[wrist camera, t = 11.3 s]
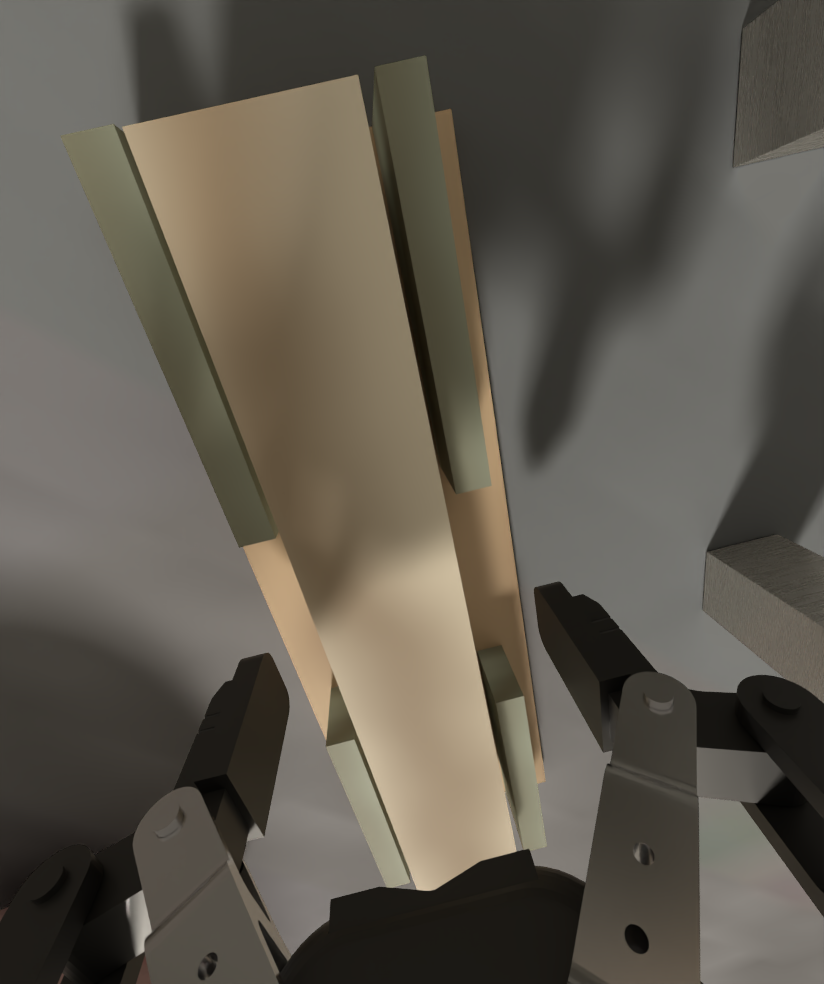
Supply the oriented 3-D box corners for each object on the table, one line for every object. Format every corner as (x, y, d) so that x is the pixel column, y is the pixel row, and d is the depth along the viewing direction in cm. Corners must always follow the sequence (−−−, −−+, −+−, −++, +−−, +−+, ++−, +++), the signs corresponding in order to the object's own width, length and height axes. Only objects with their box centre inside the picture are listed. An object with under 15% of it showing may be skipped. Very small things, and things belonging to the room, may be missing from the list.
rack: (446, 119, 11) (477, 44, 8) (540, 769, 21) (569, 840, 18) (103, 196, 11) (6, 147, 8) (364, 815, 20) (364, 894, 18)
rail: (359, 177, 10) (358, 74, 6) (491, 780, 20) (527, 906, 15) (220, 209, 10) (122, 127, 6) (417, 800, 20) (433, 931, 15)
